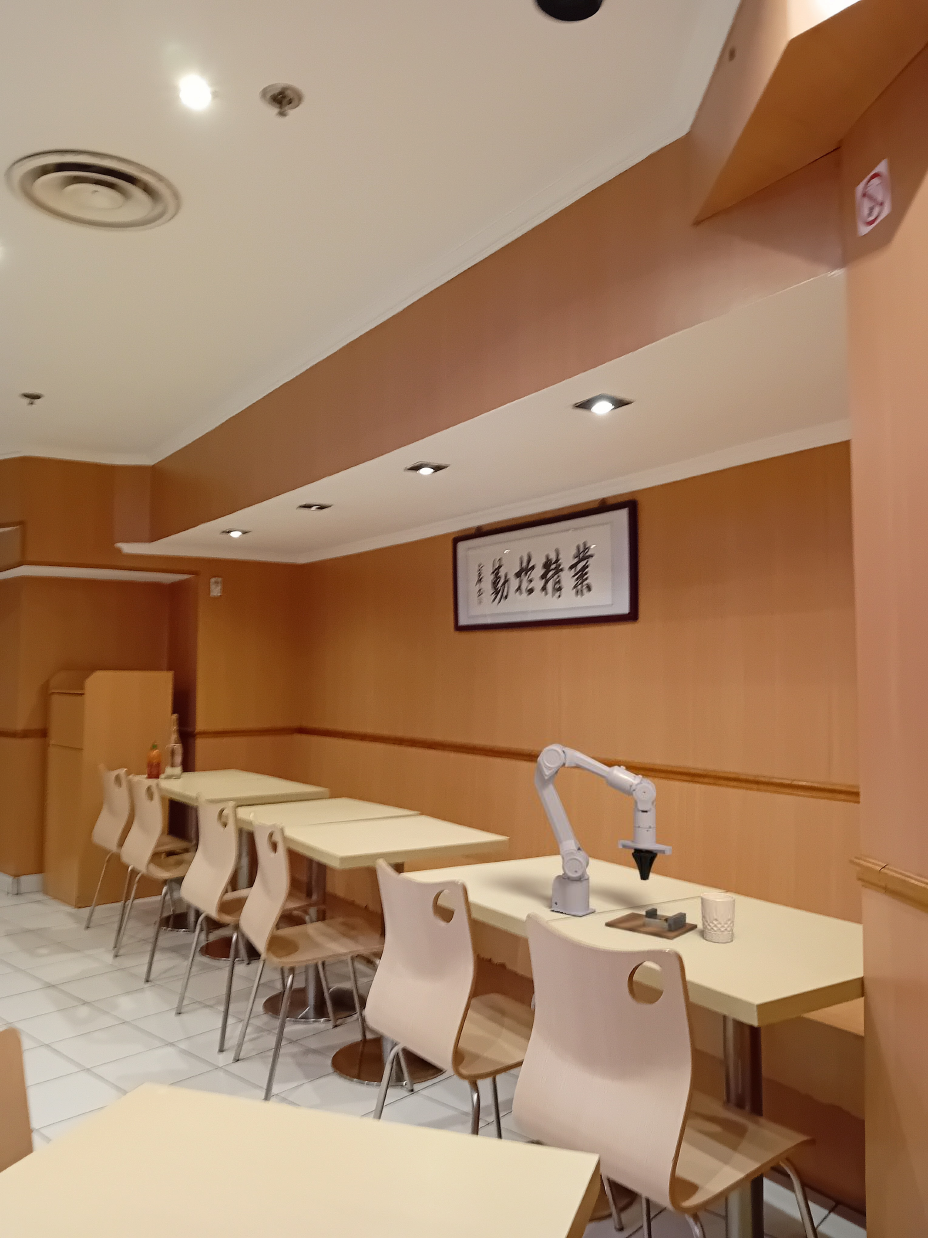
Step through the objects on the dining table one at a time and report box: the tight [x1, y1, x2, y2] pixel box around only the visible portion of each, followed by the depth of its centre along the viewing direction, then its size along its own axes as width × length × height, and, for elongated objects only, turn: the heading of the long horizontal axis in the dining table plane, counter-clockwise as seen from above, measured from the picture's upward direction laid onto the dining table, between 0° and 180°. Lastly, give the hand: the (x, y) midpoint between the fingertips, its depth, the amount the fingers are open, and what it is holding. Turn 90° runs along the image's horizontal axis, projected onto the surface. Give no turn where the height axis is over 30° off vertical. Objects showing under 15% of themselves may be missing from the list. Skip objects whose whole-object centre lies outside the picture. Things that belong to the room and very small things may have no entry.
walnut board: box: [604, 911, 698, 941], centre depth 224 cm, size 18×14×1 cm
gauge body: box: [645, 911, 687, 932], centre depth 222 cm, size 8×7×3 cm
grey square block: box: [644, 907, 668, 921], centre depth 222 cm, size 6×6×3 cm
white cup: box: [700, 892, 736, 944], centre depth 214 cm, size 8×8×10 cm
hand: (644, 879), depth 235 cm, fingers closed
